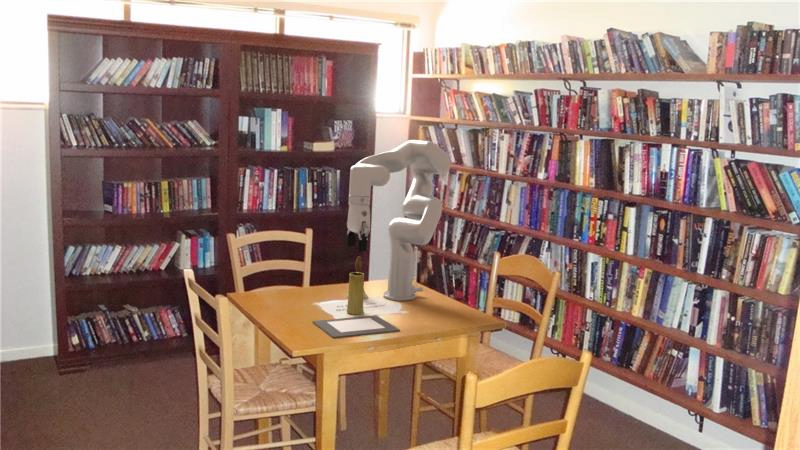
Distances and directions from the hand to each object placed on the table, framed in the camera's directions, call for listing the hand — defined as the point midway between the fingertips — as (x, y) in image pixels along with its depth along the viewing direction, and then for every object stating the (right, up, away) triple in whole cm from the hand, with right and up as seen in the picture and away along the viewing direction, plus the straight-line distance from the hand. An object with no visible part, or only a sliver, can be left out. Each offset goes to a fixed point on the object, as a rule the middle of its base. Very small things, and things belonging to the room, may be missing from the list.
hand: (356, 248), depth 259 cm
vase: (-1, -23, +3) cm, 24 cm away
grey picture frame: (+1, -26, -14) cm, 29 cm away
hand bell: (-1, -20, +25) cm, 32 cm away
